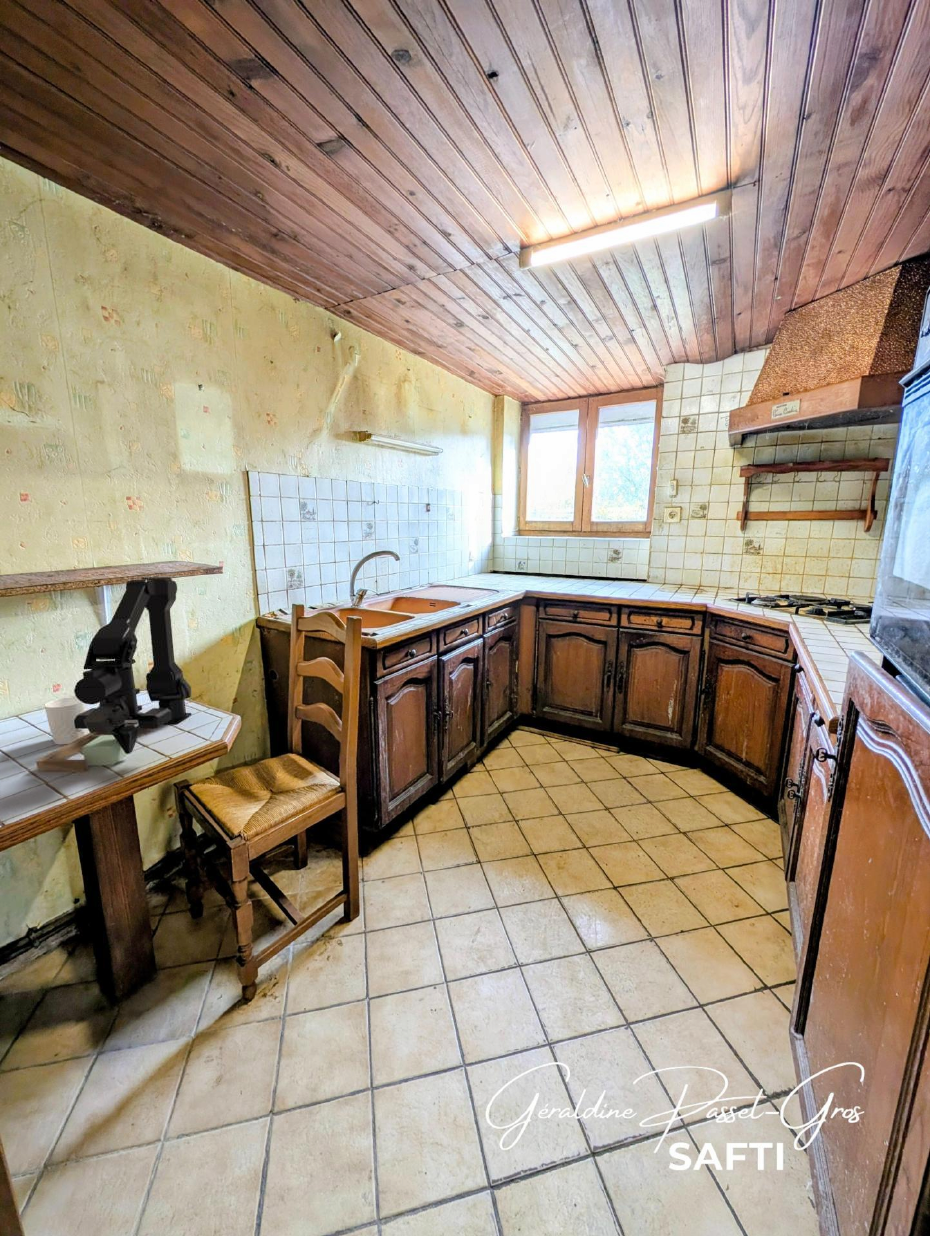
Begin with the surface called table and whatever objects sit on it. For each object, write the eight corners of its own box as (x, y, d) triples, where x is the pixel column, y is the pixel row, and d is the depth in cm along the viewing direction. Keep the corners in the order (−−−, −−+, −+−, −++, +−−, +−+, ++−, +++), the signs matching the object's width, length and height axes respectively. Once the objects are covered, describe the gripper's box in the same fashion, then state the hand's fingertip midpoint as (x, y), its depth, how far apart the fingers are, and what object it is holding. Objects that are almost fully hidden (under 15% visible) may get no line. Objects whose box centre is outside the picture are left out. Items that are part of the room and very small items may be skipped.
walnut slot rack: (111, 730, 125) (109, 722, 124) (149, 731, 124) (148, 722, 124) (37, 771, 104) (36, 761, 103) (84, 771, 104) (82, 761, 103)
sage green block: (103, 753, 112) (101, 735, 111) (130, 752, 112) (127, 734, 112) (85, 765, 106) (82, 747, 105) (113, 764, 107) (110, 746, 106)
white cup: (86, 730, 125) (80, 693, 123) (95, 738, 120) (89, 700, 118) (47, 740, 119) (41, 702, 117) (55, 749, 114) (48, 709, 112)
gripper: (46, 701, 98) (59, 770, 101) (135, 701, 98) (145, 770, 101) (89, 684, 109) (99, 747, 112) (169, 684, 109) (177, 747, 112)
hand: (128, 753), depth 109 cm, fingers closed
